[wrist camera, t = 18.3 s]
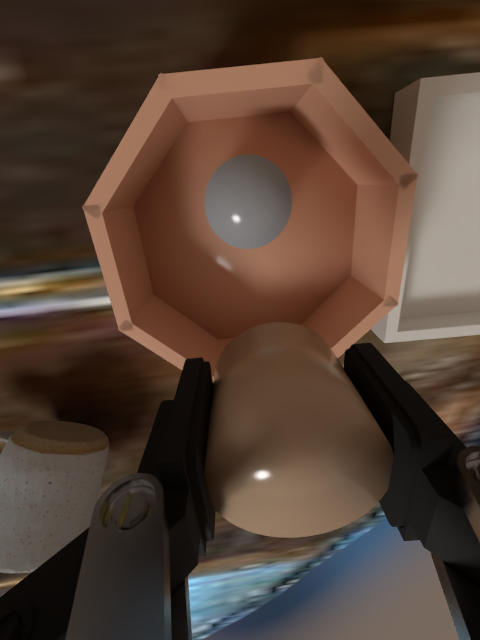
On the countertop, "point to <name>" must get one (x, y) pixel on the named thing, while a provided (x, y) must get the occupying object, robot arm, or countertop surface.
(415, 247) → the parts tray
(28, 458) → the ceramic mug
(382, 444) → the tan pebble
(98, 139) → the countertop surface
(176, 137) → the bowl
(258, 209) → the slate pebble
